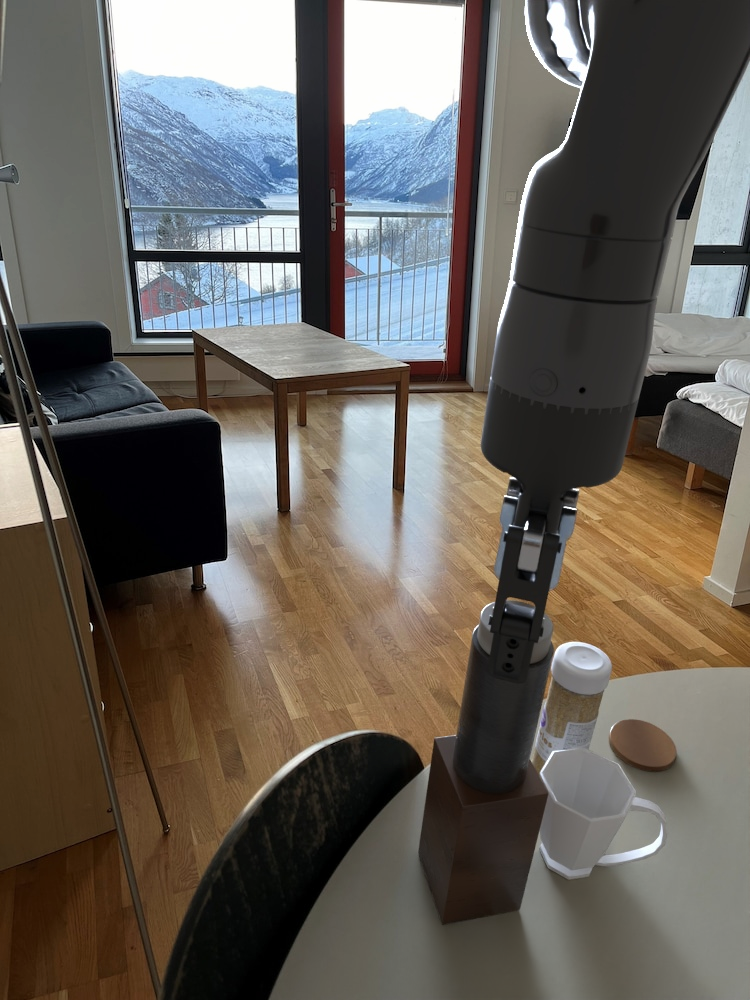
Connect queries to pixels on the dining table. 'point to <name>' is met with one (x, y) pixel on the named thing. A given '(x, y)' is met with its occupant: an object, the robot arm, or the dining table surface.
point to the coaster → (642, 745)
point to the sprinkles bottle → (572, 700)
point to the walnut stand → (477, 840)
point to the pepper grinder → (499, 713)
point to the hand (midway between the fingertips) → (515, 633)
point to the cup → (588, 813)
